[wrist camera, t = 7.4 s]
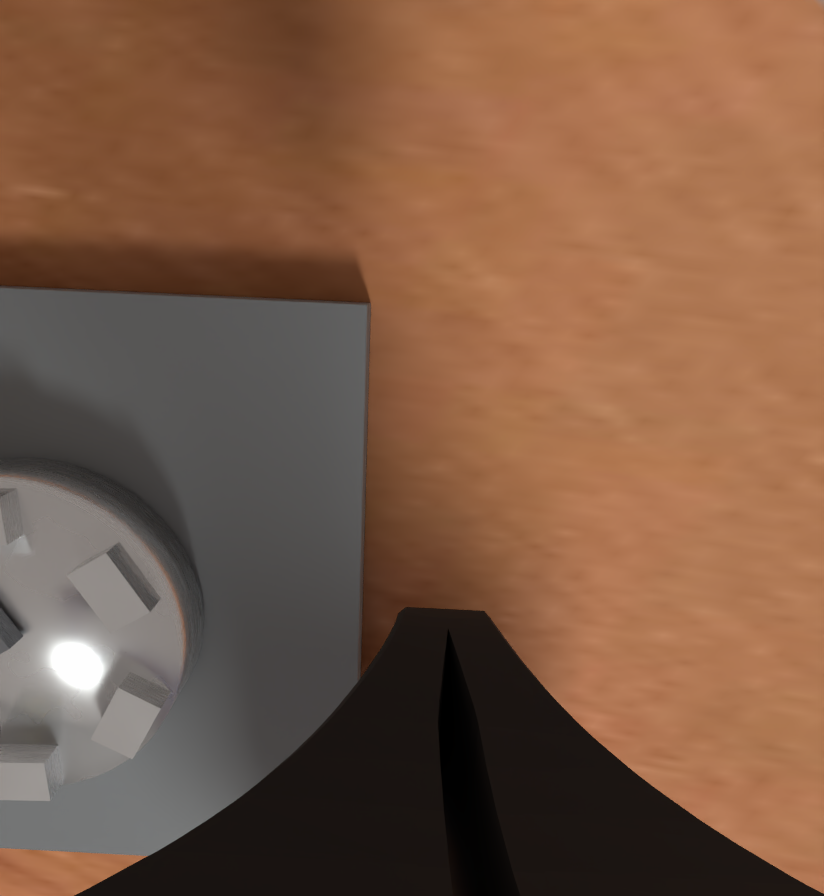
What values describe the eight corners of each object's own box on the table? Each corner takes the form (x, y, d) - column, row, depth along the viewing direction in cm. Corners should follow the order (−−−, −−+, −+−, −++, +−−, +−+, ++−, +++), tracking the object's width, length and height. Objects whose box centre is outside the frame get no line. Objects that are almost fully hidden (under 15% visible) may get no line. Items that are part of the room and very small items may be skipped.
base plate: (356, 836, 23) (352, 869, 21) (-162, 808, 23) (-196, 840, 22) (371, 302, 18) (366, 305, 17) (-281, 272, 18) (-334, 272, 17)
